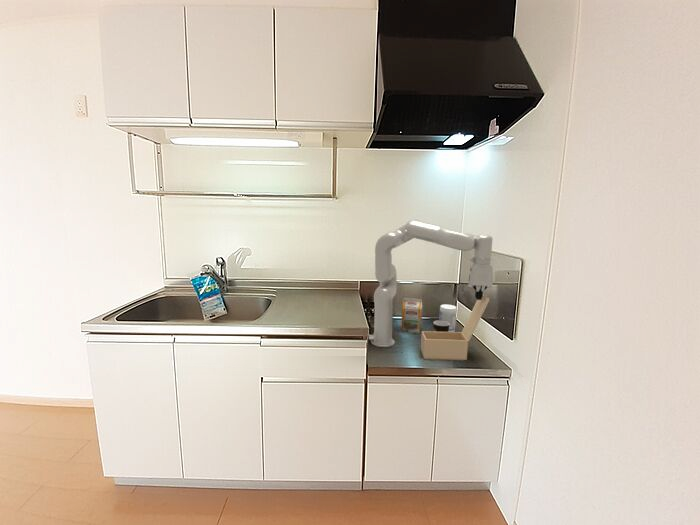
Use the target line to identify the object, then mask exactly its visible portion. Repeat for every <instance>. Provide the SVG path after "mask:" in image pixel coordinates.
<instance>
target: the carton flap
mask: <svg viewBox="0 0 700 525" xmlns="http://www.w3.org/2000/svg"><path fill="white" fill-rule="evenodd" d="M490 300H491V299H490V298H489V297H487V296H486V295H484V294H483V297H482V299H481V300H477V299H476V302H475V304H474V305H473V308H472V310H471V312H470V314H469V315H468V318H467V320H466V323H465V324H464V327H463V329H462V330H461V332H462V333H463V335H464V336H465V337H466V339H467V340H468V342H470V340H471V338H472V336H473V335H474V332H475V330H476V328H477V327H478V324H479V322H480V320H481V319H482V316H483V314H484V312H485V310H486V308H487V306H488V305H489V304H488V303H489V301H490Z"/></svg>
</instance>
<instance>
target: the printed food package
mask: <svg viewBox="0 0 700 525" xmlns="http://www.w3.org/2000/svg"><path fill="white" fill-rule="evenodd" d="M422 316H423V300H422V299H417V298H406V297H404V298H403V302H402V308H401V325H400V326H401V333H405V332H407V333H408V334H414V333H416V334H417V335H420V334H421V332H422V320H423V317H422ZM407 333H406V334H407Z"/></svg>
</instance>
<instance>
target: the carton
mask: <svg viewBox="0 0 700 525" xmlns="http://www.w3.org/2000/svg"><path fill="white" fill-rule="evenodd" d="M420 334H421V339H420V352H421V354H422V357H423V359H424V360H434V361H435V360H438V361H464V360H465V361H467V360H468V347H469V341H468V340H467V339H466V337H465V336H464V335H463V333H462V331H454V332H434V330H433V331H431V330H429V331H427V330H425V331H424V330H421V333H420Z"/></svg>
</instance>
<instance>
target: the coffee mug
mask: <svg viewBox="0 0 700 525" xmlns="http://www.w3.org/2000/svg"><path fill="white" fill-rule="evenodd" d="M432 324H433V331H434V332H448V331H449V325H450V323H448V322H446V321H439V320H434V321H433V323H432Z"/></svg>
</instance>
